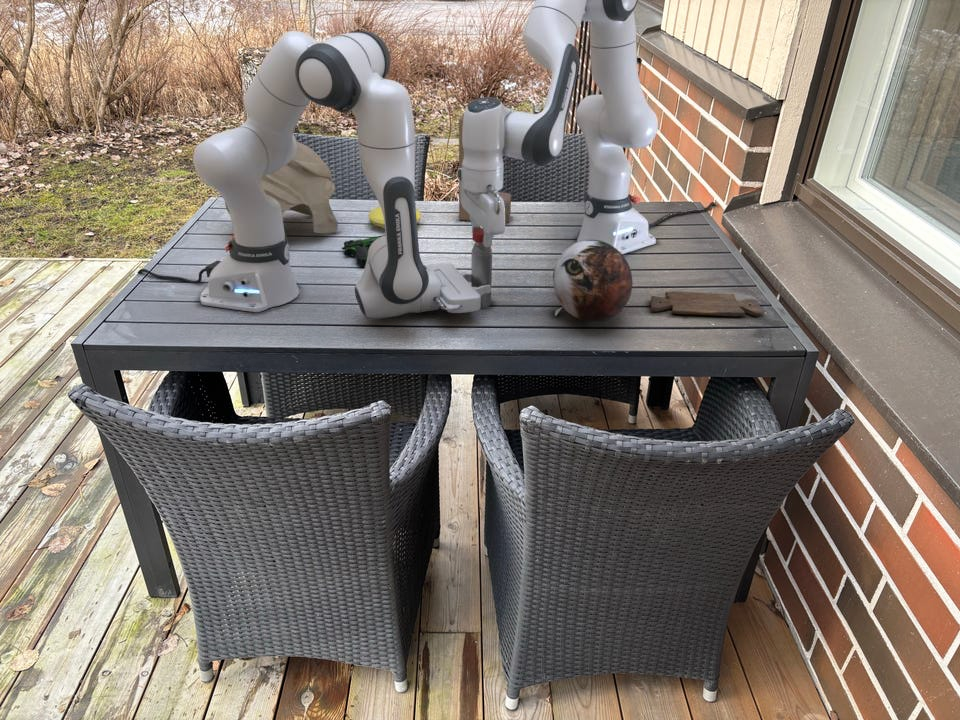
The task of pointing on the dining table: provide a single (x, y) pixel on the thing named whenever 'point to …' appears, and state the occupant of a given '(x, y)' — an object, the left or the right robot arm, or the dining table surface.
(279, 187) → the helmet
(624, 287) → the plush toy
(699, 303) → the wooden paddle board
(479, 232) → the cap
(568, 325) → the dining table surface
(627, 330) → the dining table surface
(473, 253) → the bottle
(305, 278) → the dining table surface
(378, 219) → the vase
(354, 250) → the handgun
